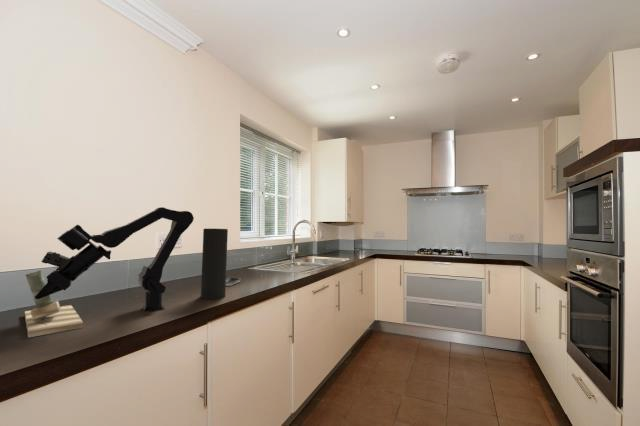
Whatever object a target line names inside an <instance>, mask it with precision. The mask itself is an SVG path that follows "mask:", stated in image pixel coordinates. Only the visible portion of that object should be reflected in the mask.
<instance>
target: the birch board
mask: <svg viewBox="0 0 640 426" xmlns="http://www.w3.org/2000/svg"><path fill="white" fill-rule="evenodd" d="M60 308H61V310H60V312H58V313H55V314H52V315H49V316H46V317H44V318H41V319H38V320H35V321H33V318H32V315H31V312H30V311H32V310H33V309H32V310H25V311H24V319H25V325H26V333H27V337H28V338H32V337H38V336H39V337H40V336H45V335H50V334H56V333H60V332H66V331H67V332H68V331H71V330H77V329H82V328H84V322H83V320H82V318H81V317H80V315H79V314H78V313H77V311H76V310H75V308H74V307H73V306H72V304H69V305H67V304H66V305H62V306H61V305H60Z"/></svg>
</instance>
